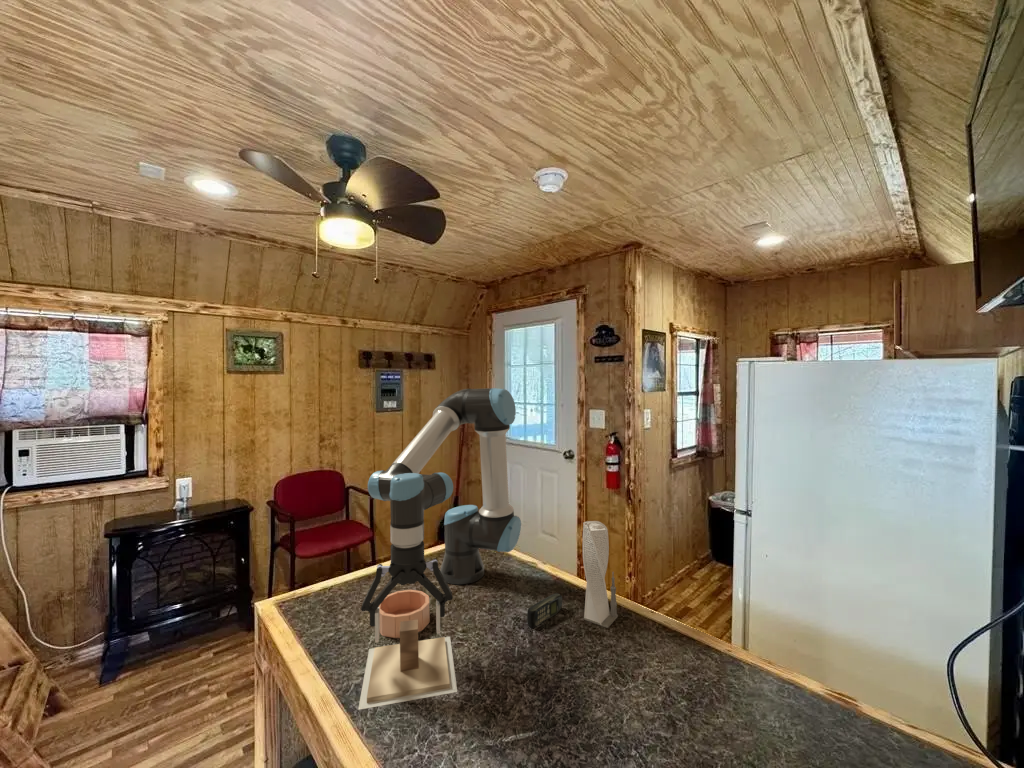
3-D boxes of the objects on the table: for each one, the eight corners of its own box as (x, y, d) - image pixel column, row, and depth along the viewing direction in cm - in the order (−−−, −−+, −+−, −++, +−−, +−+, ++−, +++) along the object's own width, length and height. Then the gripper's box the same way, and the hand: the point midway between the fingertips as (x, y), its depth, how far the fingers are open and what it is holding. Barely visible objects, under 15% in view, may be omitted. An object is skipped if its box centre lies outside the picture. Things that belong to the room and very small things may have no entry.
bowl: (428, 607, 124) (428, 587, 124) (430, 635, 110) (429, 612, 110) (379, 614, 120) (379, 593, 120) (374, 643, 107) (374, 620, 107)
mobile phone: (533, 612, 111) (566, 590, 122) (524, 608, 113) (558, 587, 124) (533, 631, 111) (567, 607, 122) (525, 626, 114) (558, 603, 124)
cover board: (444, 640, 106) (443, 601, 106) (449, 688, 90) (448, 641, 90) (374, 651, 103) (374, 611, 103) (366, 702, 86) (365, 654, 86)
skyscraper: (605, 630, 110) (603, 525, 110) (578, 620, 115) (576, 519, 115) (618, 616, 117) (616, 516, 117) (591, 607, 122) (590, 512, 122)
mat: (450, 638, 108) (450, 636, 108) (457, 694, 89) (457, 691, 89) (369, 651, 104) (369, 648, 104) (358, 712, 84) (358, 709, 84)
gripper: (459, 532, 103) (460, 618, 102) (352, 541, 97) (353, 633, 97) (463, 542, 95) (464, 636, 95) (347, 553, 90) (348, 653, 89)
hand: (408, 634), depth 96 cm, fingers open, 13 cm apart
